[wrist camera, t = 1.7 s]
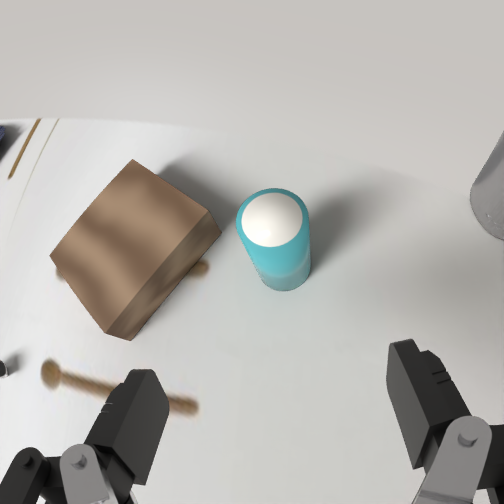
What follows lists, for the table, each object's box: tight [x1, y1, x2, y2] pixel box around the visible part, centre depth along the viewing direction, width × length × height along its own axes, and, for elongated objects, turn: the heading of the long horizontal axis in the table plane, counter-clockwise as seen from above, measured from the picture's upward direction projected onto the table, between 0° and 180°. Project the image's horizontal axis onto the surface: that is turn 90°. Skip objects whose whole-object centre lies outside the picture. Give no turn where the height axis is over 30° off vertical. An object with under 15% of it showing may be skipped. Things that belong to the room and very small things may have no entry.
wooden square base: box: [50, 159, 222, 341], centre depth 35 cm, size 16×14×5 cm
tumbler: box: [236, 188, 311, 291], centre depth 28 cm, size 6×6×10 cm
